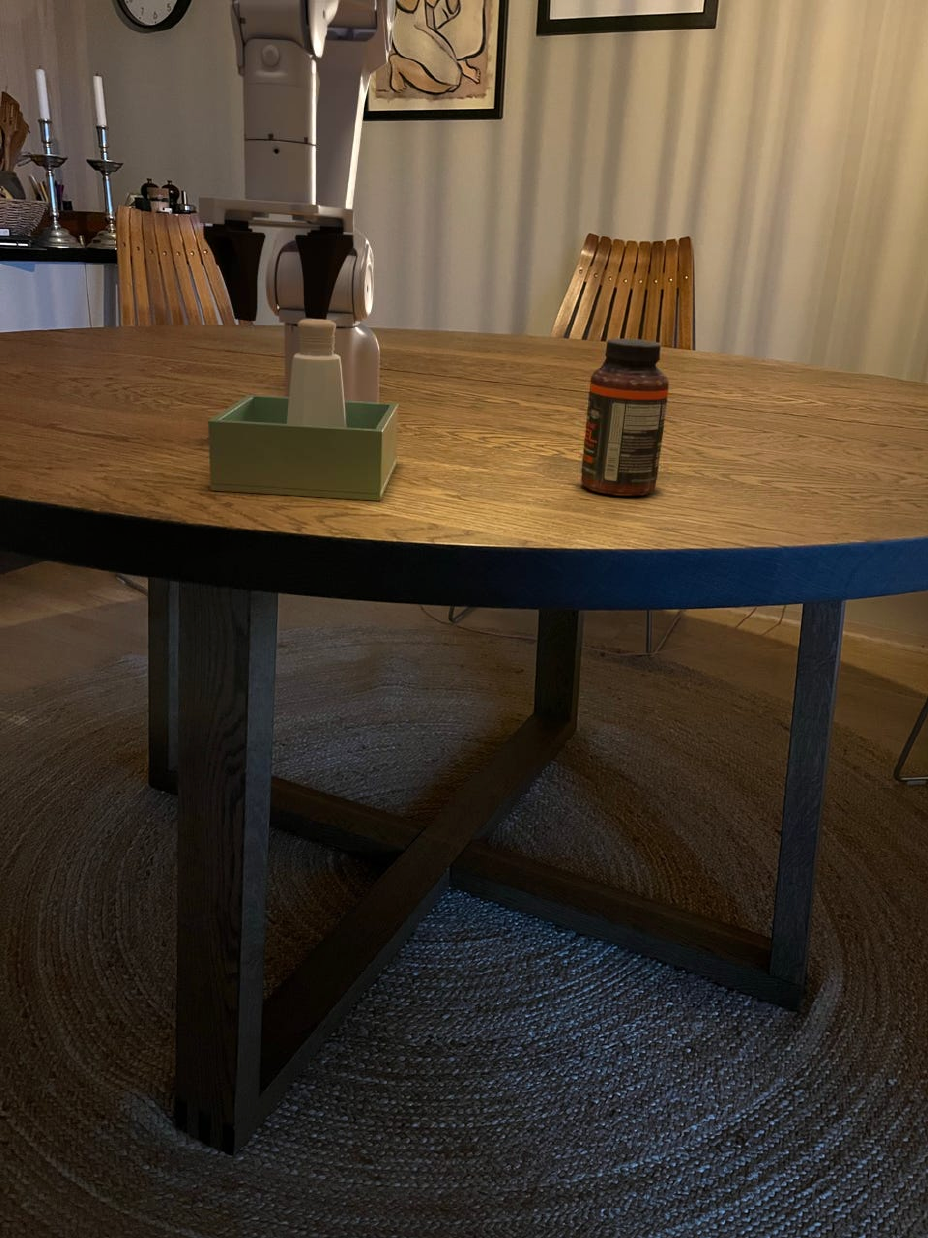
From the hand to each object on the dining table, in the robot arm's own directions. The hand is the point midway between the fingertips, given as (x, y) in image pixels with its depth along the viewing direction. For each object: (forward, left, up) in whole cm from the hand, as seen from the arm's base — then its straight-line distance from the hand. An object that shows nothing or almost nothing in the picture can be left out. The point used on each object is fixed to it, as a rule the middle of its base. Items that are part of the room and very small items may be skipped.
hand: (281, 319), depth 85 cm
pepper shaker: (+6, +11, -10) cm, 16 cm away
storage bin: (+7, +12, -10) cm, 17 cm away
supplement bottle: (-10, +29, -11) cm, 32 cm away
